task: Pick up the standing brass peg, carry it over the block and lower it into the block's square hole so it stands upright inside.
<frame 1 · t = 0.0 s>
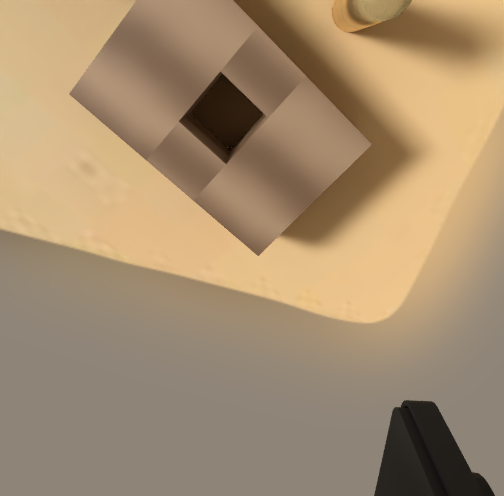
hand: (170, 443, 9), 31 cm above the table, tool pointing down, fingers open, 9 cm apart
peg: (351, 10, 34), on the table
hole block: (228, 111, 37), on the table
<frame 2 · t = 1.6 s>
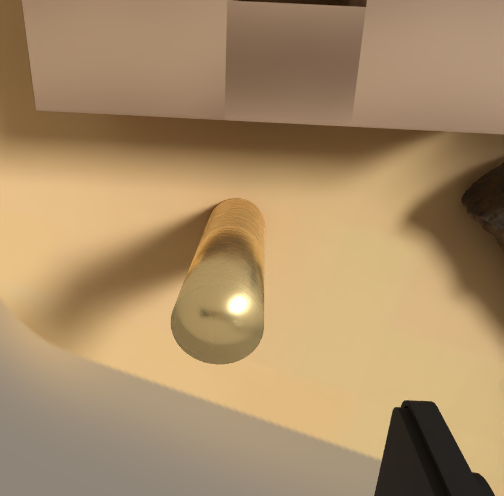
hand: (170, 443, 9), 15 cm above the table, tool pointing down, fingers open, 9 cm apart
peg: (236, 225, 23), on the table
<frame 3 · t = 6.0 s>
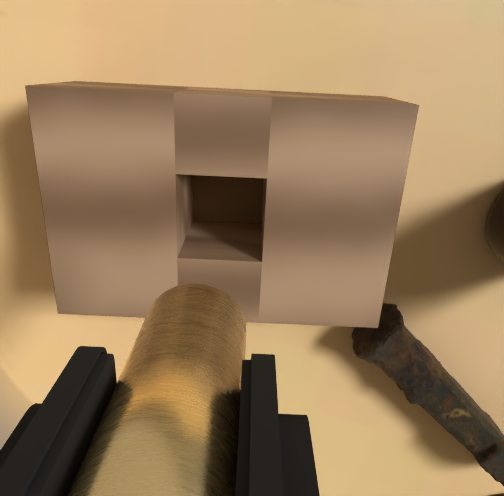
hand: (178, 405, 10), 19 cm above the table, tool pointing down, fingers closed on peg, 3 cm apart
peg: (196, 328, 13), point 16 cm above the table, touching gripper
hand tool: (445, 381, 34), on the table
hole block: (227, 189, 28), on the table
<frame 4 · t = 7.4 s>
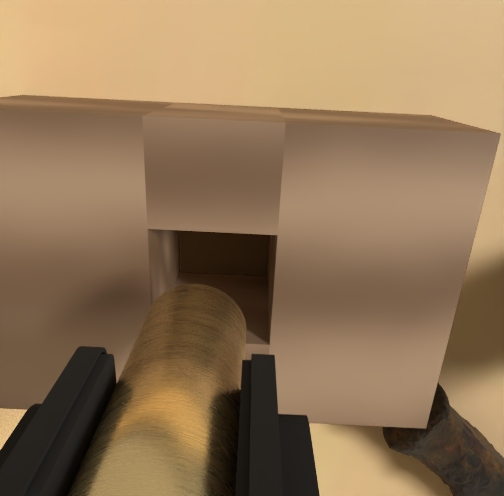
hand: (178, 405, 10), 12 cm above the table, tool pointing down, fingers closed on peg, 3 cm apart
peg: (196, 328, 13), point 9 cm above the table, touching gripper
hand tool: (496, 461, 27), on the table
hole block: (224, 233, 22), on the table
when the fingers open (7 cm above the table, at t = 8.6 s): peg drops 3 cm, resting in hole block.
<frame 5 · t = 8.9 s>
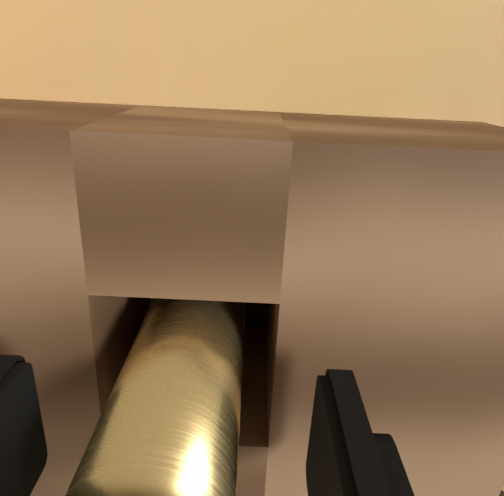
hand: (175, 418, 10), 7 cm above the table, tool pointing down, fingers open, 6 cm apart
peg: (207, 274, 17), resting in hole block
hole block: (208, 273, 17), on the table
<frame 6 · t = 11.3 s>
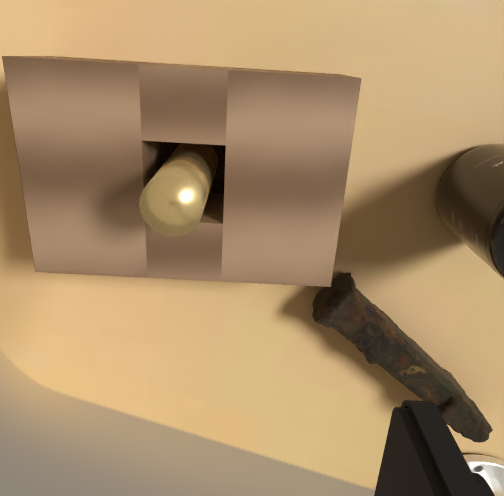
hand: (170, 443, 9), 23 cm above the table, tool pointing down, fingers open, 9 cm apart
peg: (195, 160, 30), resting in hole block
supplement bottle: (479, 190, 31), on the table
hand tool: (406, 343, 36), on the table
hole block: (196, 160, 30), on the table
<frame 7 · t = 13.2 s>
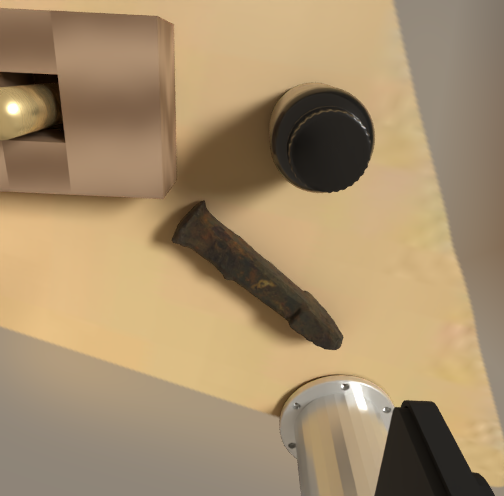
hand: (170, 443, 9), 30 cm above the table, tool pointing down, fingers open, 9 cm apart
peg: (63, 101, 36), resting in hole block
supplement bottle: (309, 125, 36), on the table
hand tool: (270, 268, 42), on the table
hole block: (64, 101, 36), on the table
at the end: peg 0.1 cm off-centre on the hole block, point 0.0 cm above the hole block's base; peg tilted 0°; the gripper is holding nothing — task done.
